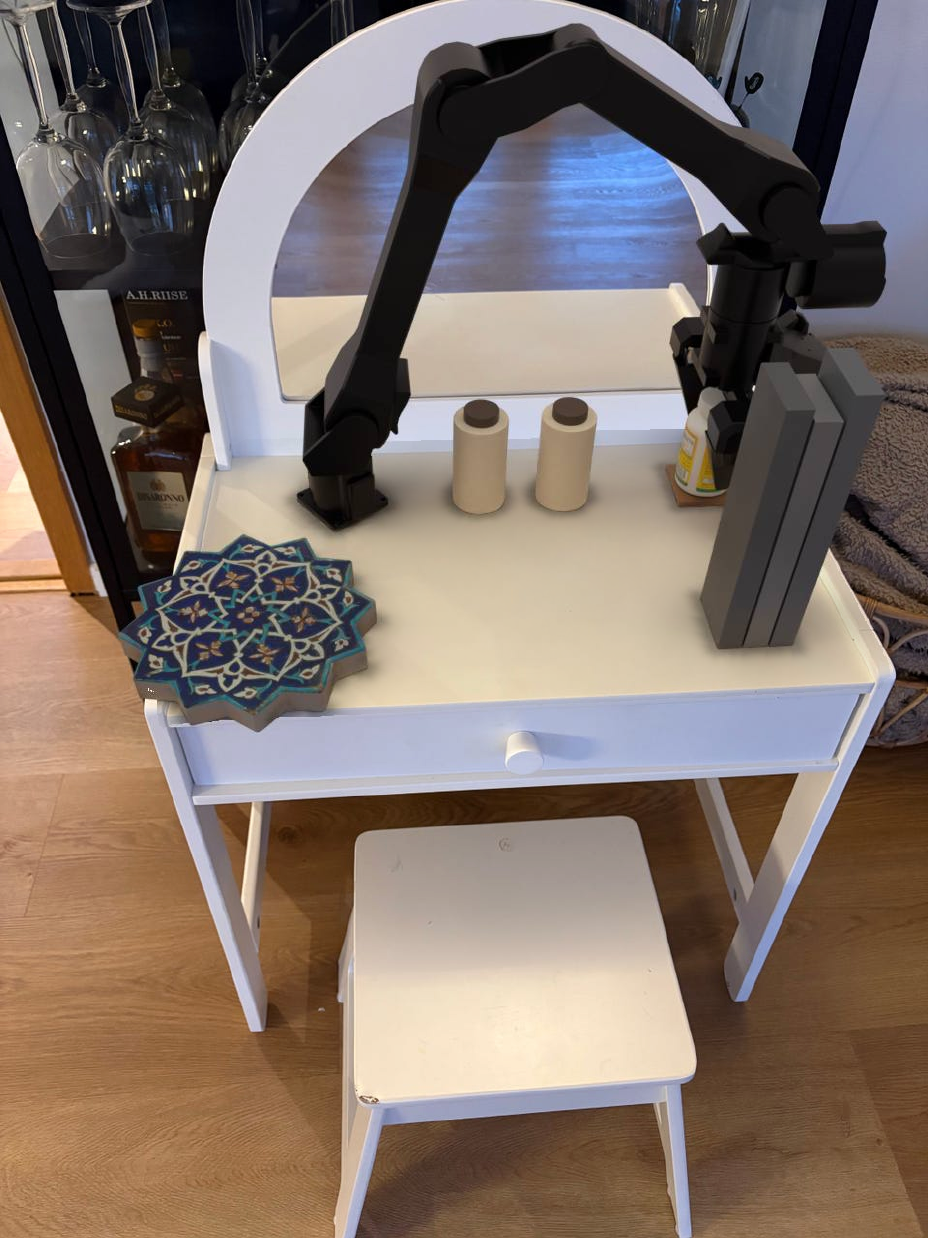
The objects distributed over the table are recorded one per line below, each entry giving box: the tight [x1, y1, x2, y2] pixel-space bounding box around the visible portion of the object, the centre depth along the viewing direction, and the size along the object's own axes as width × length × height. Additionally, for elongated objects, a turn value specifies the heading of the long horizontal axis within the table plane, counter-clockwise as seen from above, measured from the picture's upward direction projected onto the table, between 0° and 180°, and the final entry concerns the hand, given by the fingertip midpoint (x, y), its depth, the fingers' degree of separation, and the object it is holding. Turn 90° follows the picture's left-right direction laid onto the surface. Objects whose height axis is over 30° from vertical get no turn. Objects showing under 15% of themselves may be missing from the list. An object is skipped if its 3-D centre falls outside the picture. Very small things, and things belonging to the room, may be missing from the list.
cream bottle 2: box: [534, 396, 598, 512], centre depth 91 cm, size 5×5×10 cm
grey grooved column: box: [699, 347, 886, 649], centre depth 75 cm, size 6×6×24 cm
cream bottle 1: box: [452, 398, 510, 515], centre depth 91 cm, size 5×5×10 cm
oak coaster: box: [665, 463, 729, 508], centre depth 96 cm, size 6×6×1 cm
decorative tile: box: [117, 533, 378, 733], centre depth 80 cm, size 20×20×2 cm
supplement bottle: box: [675, 387, 727, 497], centre depth 92 cm, size 5×5×10 cm
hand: (708, 459), depth 94 cm, fingers open, 9 cm apart
